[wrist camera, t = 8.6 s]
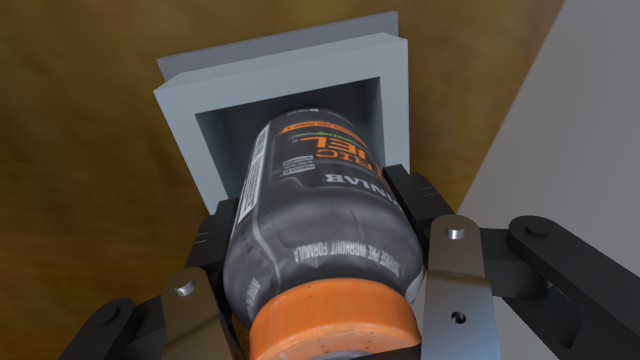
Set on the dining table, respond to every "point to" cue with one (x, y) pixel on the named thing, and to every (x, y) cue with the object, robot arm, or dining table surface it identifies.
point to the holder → (285, 94)
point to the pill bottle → (320, 245)
